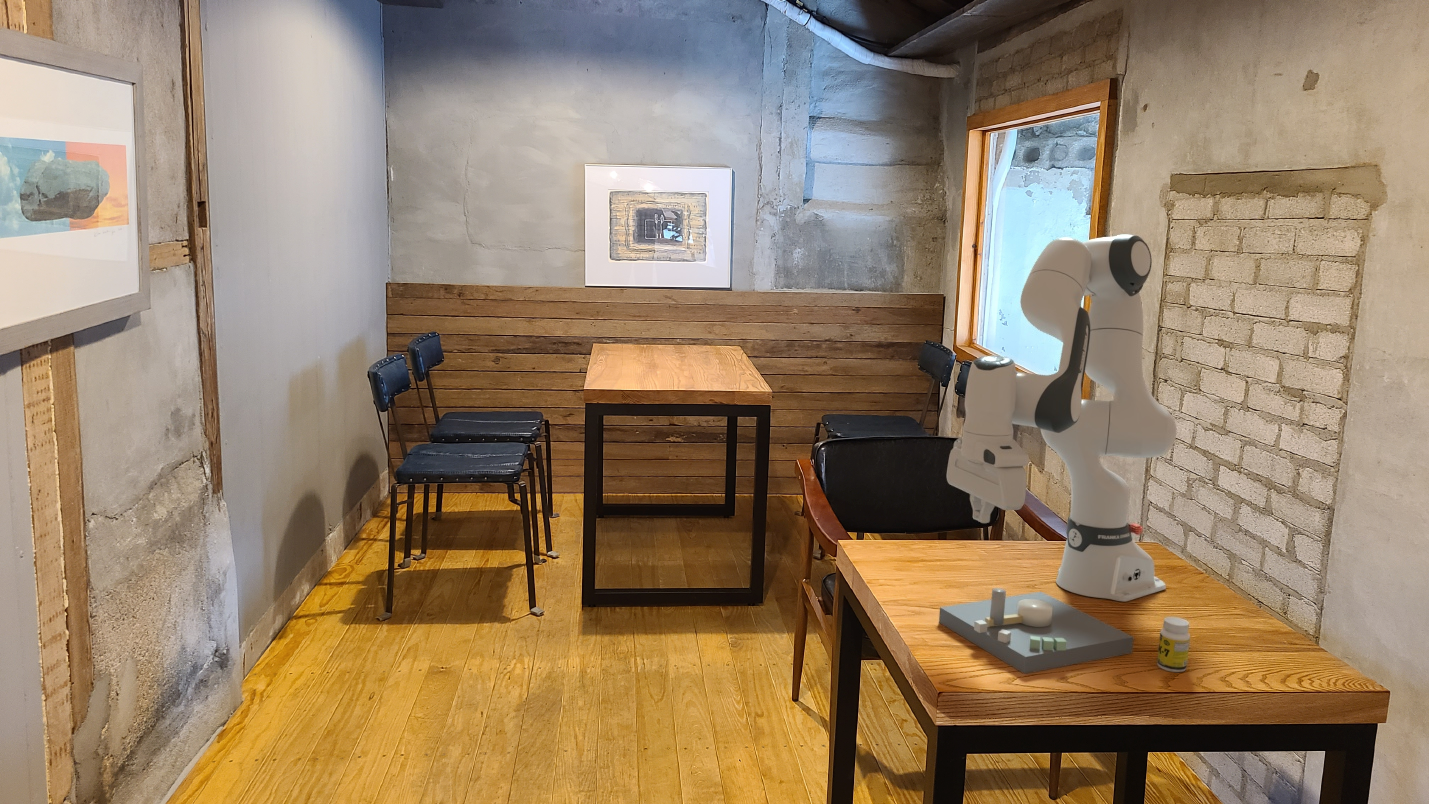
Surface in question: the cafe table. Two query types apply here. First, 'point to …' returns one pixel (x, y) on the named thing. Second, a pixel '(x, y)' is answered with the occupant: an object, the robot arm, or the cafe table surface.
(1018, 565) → the cafe table surface
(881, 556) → the cafe table surface
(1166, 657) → the supplement bottle
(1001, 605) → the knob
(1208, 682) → the cafe table surface
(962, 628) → the dial plate
